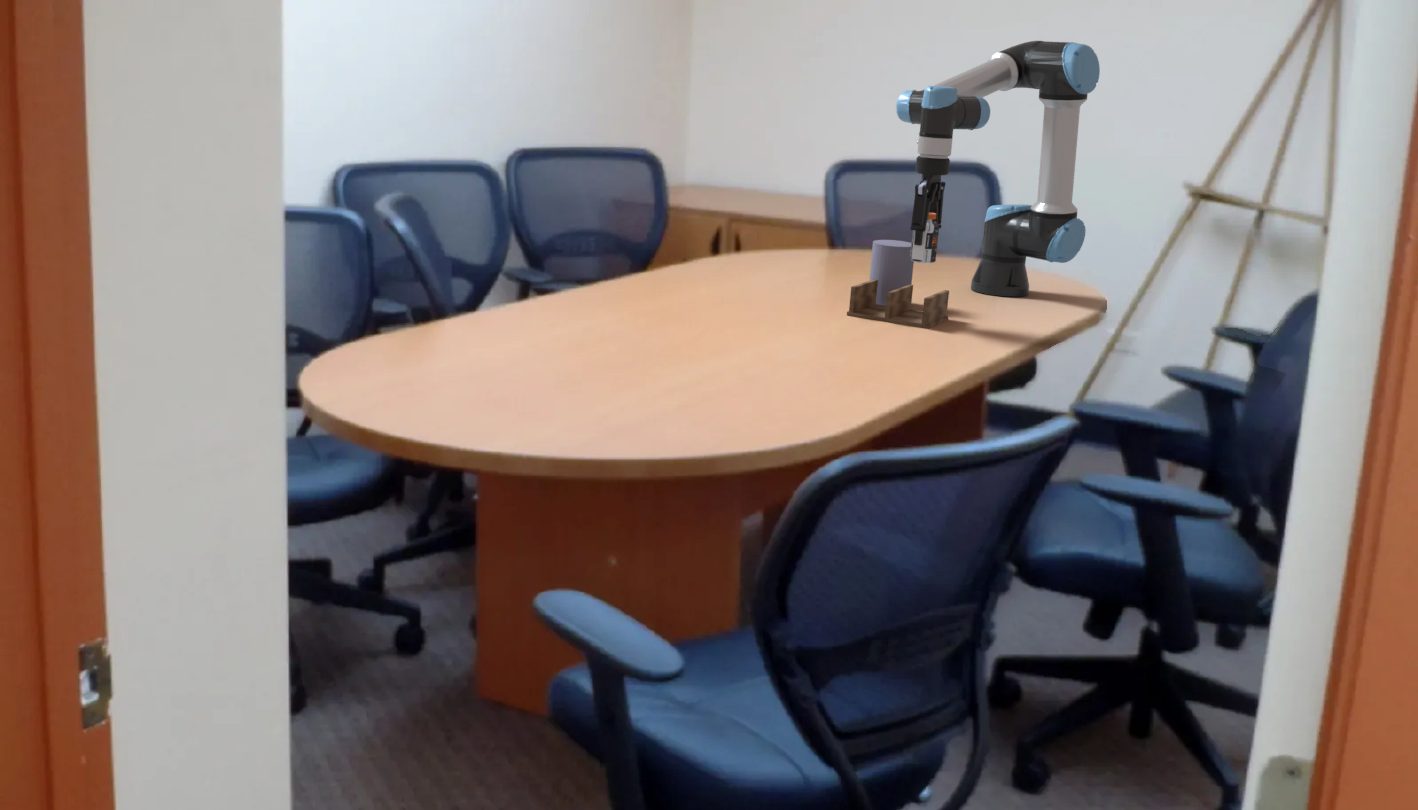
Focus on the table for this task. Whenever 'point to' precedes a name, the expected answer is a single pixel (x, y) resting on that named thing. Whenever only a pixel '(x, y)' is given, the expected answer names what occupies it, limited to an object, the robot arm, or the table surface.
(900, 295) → the rack
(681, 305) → the table surface
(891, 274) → the container
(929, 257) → the pill bottle
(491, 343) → the table surface
